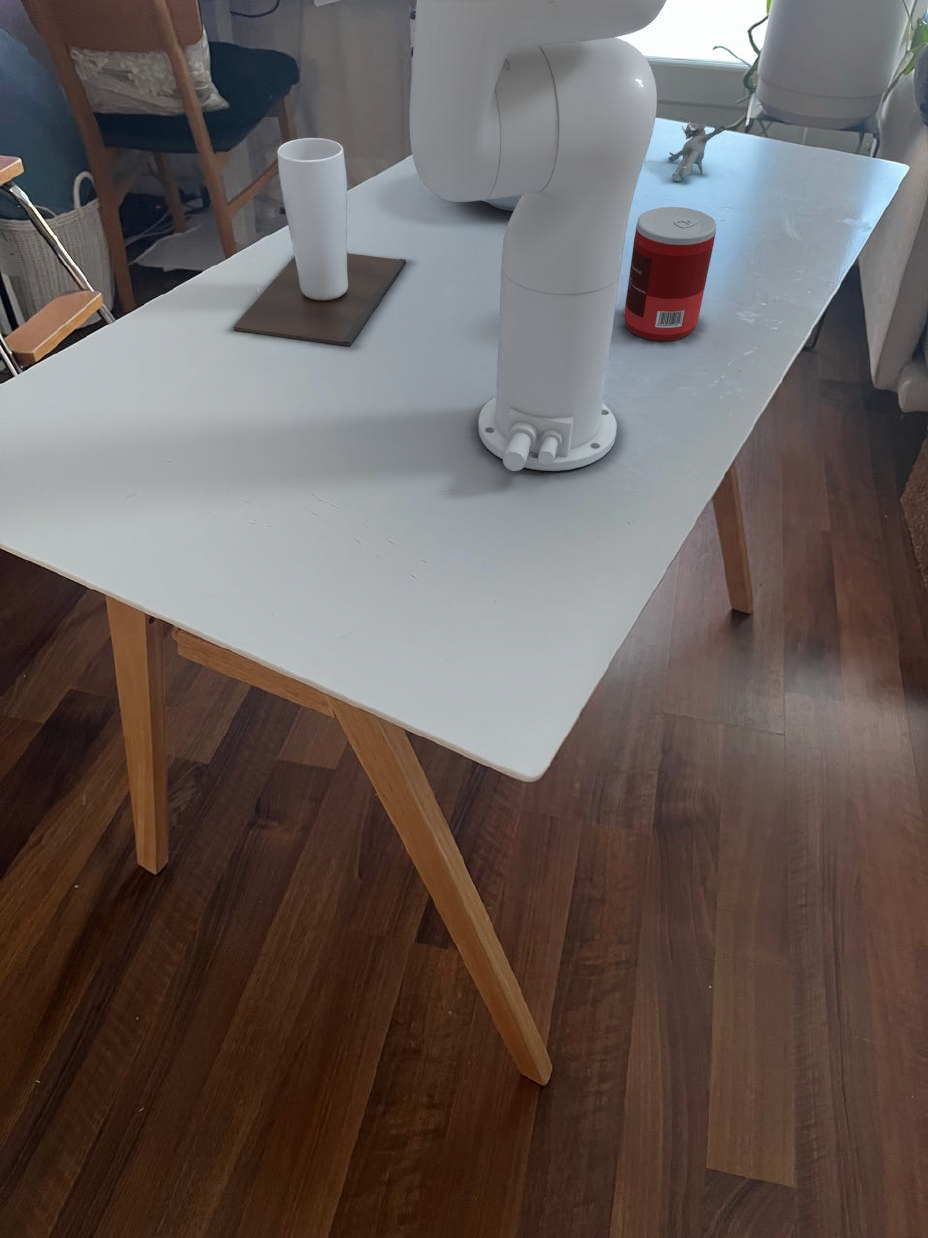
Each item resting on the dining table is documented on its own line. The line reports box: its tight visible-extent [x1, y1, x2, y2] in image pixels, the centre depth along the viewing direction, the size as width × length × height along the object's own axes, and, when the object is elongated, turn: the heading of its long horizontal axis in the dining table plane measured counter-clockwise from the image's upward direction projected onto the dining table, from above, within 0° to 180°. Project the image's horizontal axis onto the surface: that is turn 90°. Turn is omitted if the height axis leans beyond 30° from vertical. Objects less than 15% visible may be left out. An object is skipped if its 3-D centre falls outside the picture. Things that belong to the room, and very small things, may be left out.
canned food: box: [623, 206, 717, 342], centre depth 96 cm, size 8×8×11 cm
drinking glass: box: [276, 137, 348, 301], centre depth 99 cm, size 7×7×15 cm
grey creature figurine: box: [667, 120, 727, 182], centre depth 129 cm, size 10×6×9 cm
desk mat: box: [232, 252, 407, 347], centre depth 104 cm, size 20×13×1 cm, turn 166°
